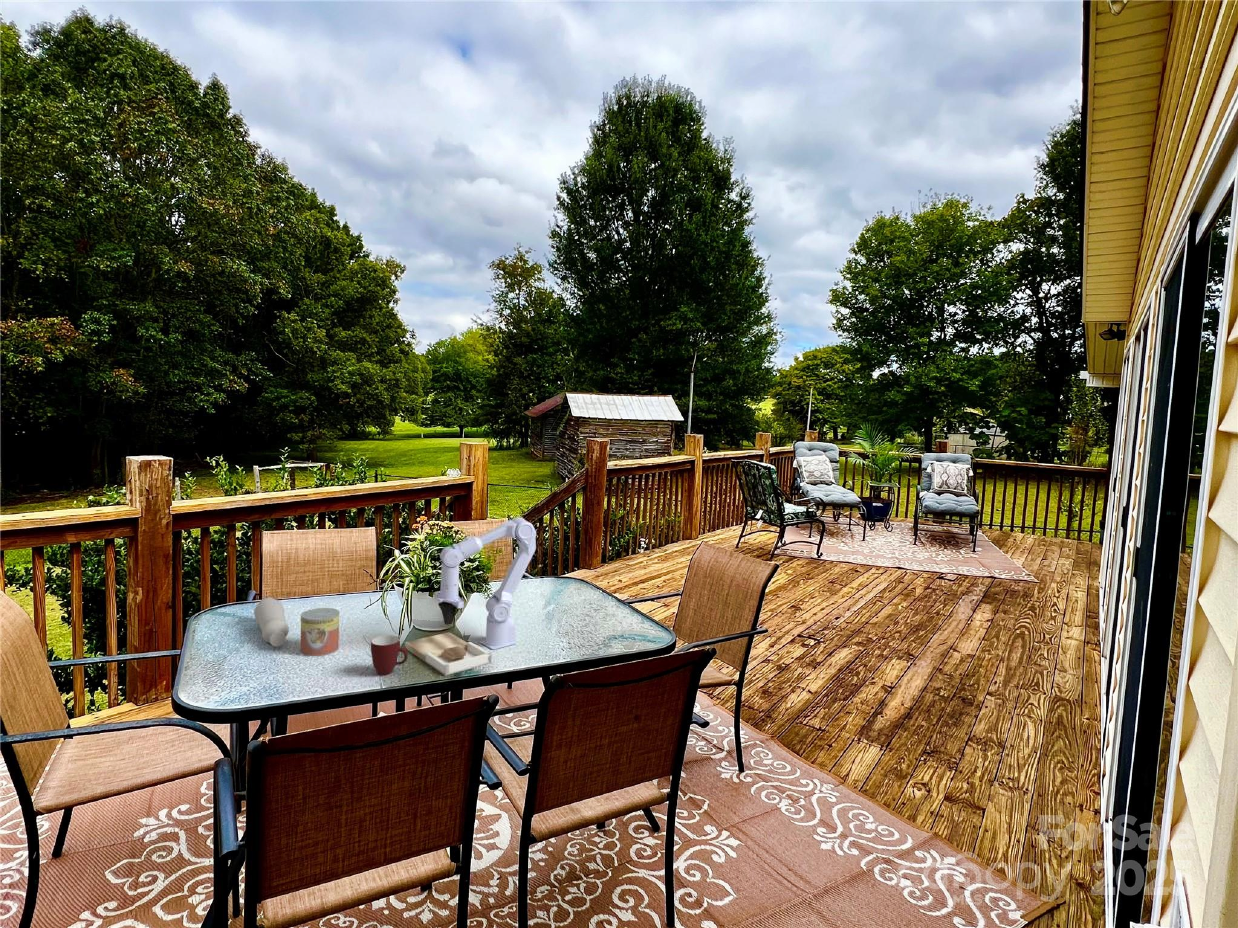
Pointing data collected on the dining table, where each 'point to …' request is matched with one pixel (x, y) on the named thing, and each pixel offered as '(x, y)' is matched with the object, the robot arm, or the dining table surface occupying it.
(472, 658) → the tray
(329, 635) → the canned food
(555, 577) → the dining table surface
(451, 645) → the board
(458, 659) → the tile
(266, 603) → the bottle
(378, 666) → the mug
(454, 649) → the tile
